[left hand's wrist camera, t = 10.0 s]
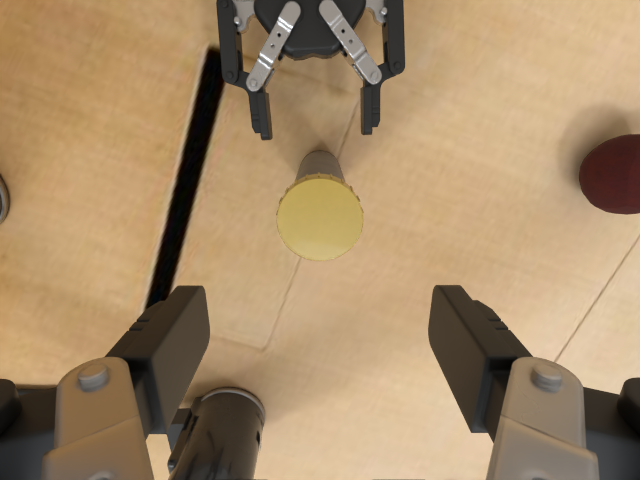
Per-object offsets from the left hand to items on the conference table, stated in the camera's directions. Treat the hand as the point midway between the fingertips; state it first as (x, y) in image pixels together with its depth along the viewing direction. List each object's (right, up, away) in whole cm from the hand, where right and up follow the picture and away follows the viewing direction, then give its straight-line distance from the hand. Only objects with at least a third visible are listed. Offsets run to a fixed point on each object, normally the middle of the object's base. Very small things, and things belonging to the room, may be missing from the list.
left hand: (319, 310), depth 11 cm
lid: (0, +3, +9) cm, 10 cm away
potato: (+30, +10, +26) cm, 40 cm away
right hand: (0, +11, +19) cm, 22 cm away
